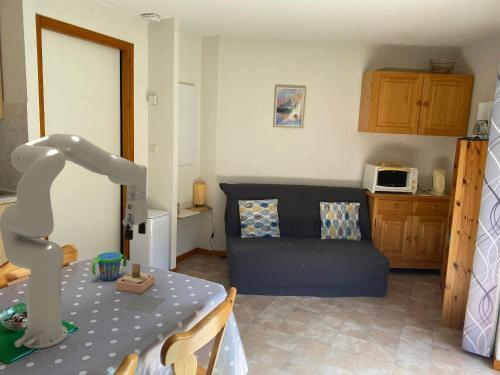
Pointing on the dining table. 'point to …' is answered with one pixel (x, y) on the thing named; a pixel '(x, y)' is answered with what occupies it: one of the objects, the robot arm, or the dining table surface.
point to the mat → (144, 303)
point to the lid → (136, 275)
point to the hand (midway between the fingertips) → (135, 236)
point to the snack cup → (109, 265)
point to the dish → (135, 285)
